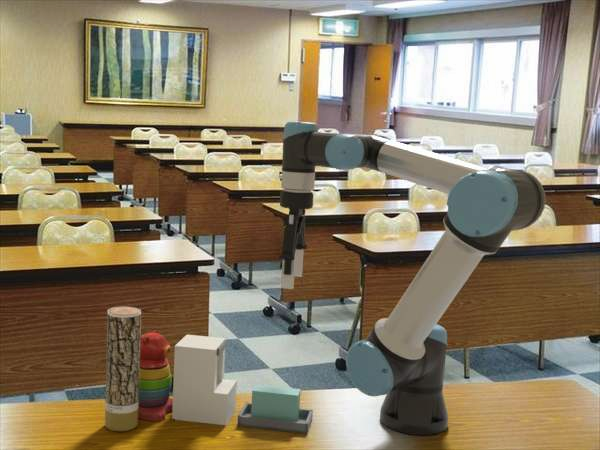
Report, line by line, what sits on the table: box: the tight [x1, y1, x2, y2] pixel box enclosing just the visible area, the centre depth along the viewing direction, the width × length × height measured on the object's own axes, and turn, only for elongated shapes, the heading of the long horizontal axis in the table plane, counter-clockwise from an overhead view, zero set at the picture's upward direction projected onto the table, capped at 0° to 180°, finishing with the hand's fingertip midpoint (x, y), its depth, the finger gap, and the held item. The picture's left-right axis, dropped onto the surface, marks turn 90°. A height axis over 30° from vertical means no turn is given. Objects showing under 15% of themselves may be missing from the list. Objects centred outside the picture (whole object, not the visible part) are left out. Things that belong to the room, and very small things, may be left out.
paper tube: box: [104, 306, 142, 432], centre depth 161 cm, size 7×7×25 cm
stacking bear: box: [138, 329, 173, 422], centre depth 171 cm, size 11×10×18 cm
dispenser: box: [171, 334, 238, 426], centre depth 170 cm, size 12×9×16 cm
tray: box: [237, 402, 314, 435], centre depth 169 cm, size 15×8×2 cm, turn 82°
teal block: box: [251, 384, 301, 422], centre depth 168 cm, size 10×4×7 cm, turn 82°
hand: (291, 282), depth 178 cm, fingers open, 13 cm apart
